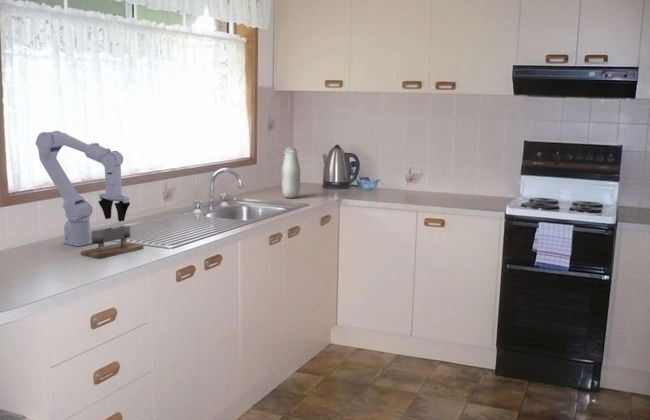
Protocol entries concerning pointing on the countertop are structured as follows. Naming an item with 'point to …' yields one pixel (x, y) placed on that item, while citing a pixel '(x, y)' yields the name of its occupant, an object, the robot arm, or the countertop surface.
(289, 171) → the glass bottle
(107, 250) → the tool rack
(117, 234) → the dark grey bar
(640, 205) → the countertop surface
